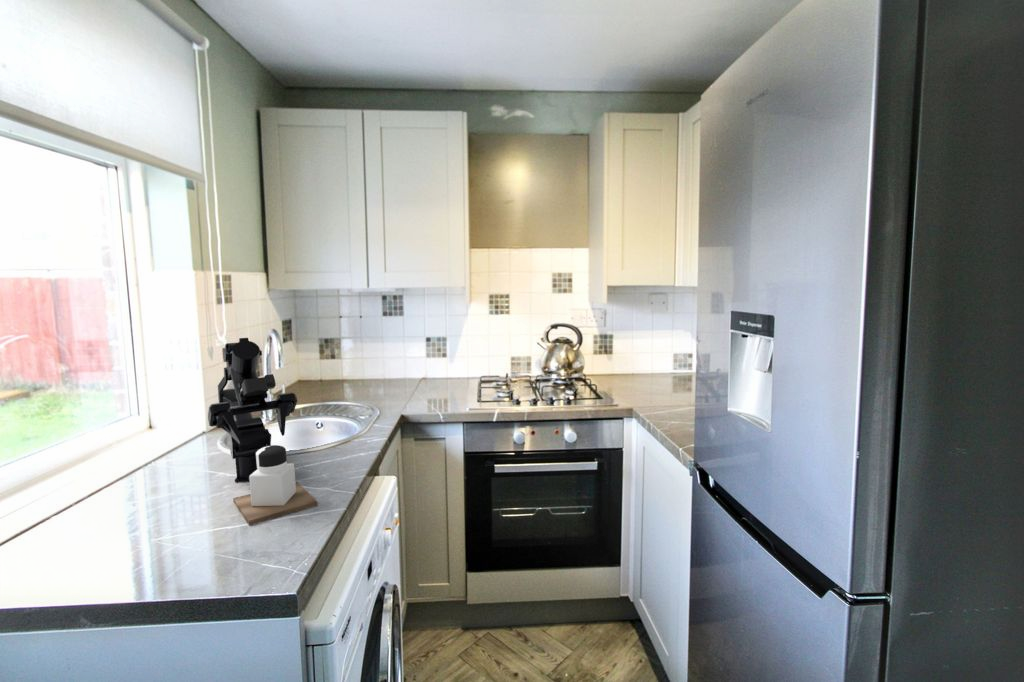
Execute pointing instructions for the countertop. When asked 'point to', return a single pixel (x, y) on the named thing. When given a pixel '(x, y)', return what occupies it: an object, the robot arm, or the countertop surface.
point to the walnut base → (264, 513)
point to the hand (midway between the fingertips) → (262, 438)
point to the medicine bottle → (272, 478)
